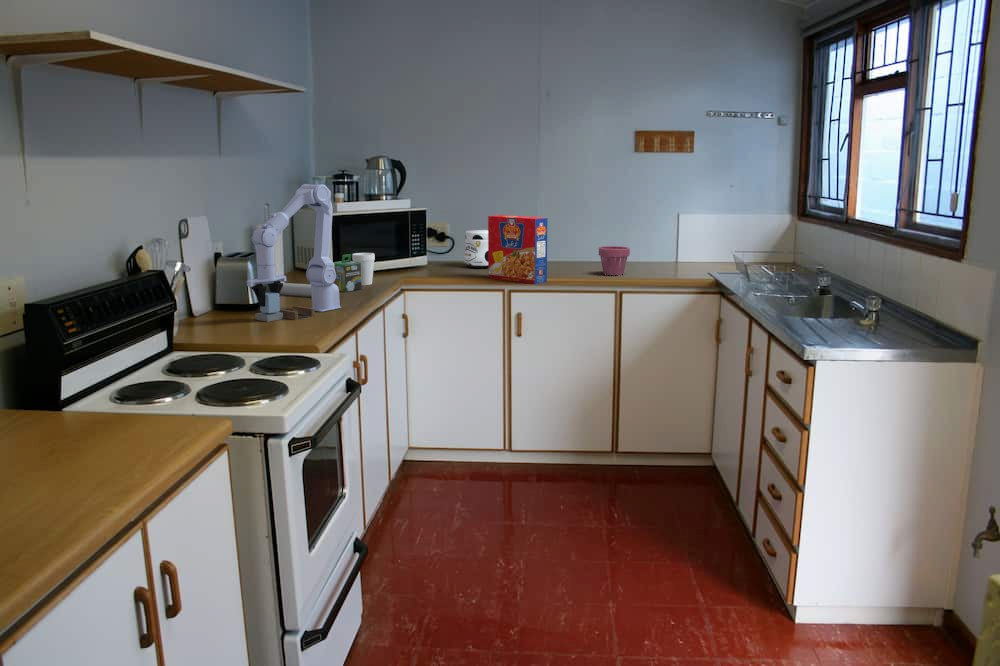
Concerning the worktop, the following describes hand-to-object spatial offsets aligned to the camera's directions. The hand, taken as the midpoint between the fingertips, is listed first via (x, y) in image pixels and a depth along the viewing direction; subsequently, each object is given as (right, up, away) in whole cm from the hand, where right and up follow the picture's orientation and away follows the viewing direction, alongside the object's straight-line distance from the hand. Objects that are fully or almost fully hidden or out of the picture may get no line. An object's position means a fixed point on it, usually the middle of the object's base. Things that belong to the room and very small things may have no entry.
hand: (268, 305), depth 265 cm
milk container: (+68, +24, +132) cm, 151 cm away
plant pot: (+130, +18, +105) cm, 168 cm away
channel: (+7, -4, +6) cm, 10 cm away
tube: (0, +5, +48) cm, 48 cm away
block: (0, -2, 0) cm, 2 cm away
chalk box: (+14, +8, +62) cm, 64 cm away
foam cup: (+19, +12, +78) cm, 81 cm away
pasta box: (+85, +14, +89) cm, 124 cm away
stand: (0, -5, +1) cm, 5 cm away
